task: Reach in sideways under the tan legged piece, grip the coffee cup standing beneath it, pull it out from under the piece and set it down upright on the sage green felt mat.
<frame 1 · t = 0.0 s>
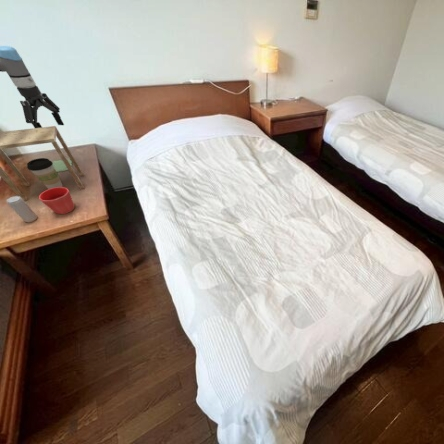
hand: (52, 129, 131), 24 cm above the table, tool pointing down, fingers open, 13 cm apart
tan legged piece: (55, 186, 134), on the table
coffee cup: (55, 187, 134), on the table
felt mat: (57, 166, 147), on the table
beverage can: (31, 219, 115), on the table
flower pot: (65, 209, 122), on the table
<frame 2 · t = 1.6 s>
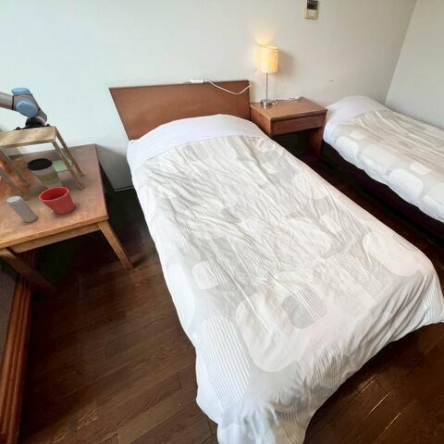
hand: (31, 139, 126), 22 cm above the table, tool horizontal, fingers open, 13 cm apart
nothing on the table moved.
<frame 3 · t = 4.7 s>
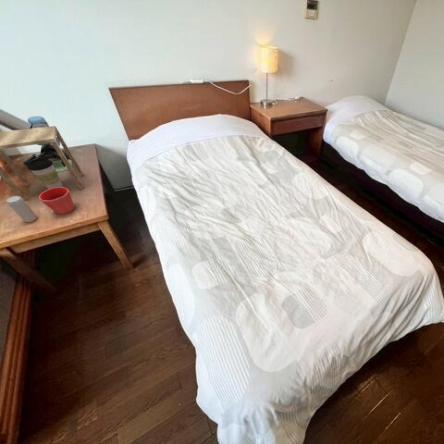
hand: (47, 167, 133), 8 cm above the table, tool horizontal, fingers open, 13 cm apart
nothing on the table moved.
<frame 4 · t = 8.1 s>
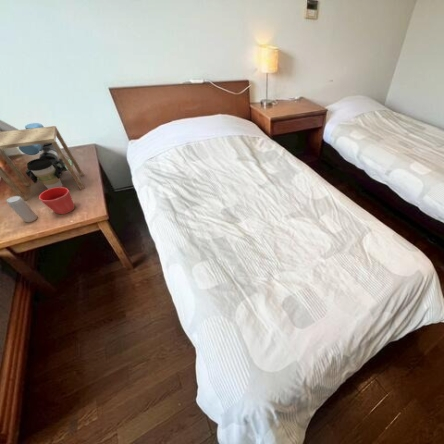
hand: (45, 178, 126), 8 cm above the table, tool horizontal, fingers closed on coffee cup, 9 cm apart
coffee cup: (55, 187, 134), on the table, touching gripper
everything else where it was.
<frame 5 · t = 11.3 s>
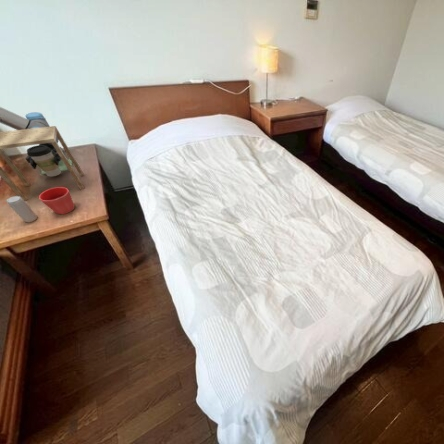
hand: (44, 164, 131), 10 cm above the table, tool horizontal, fingers closed on coffee cup, 9 cm apart
coffee cup: (54, 173, 139), point 2 cm above the table, touching gripper
everything else where it was.
when the fingers open (9 cm above the table, at t = 14.5 s): coffee cup stays where it is, resting on felt mat.
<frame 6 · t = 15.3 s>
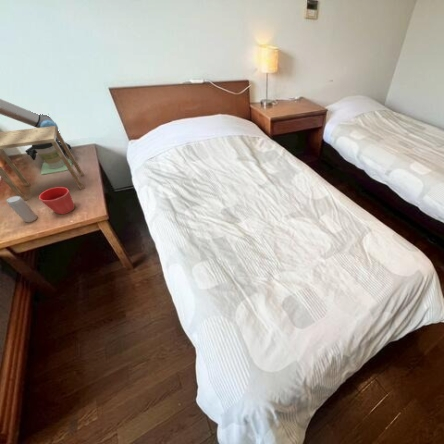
hand: (48, 155, 139), 9 cm above the table, tool horizontal, fingers open, 13 cm apart
coffee cup: (57, 166, 147), resting on felt mat
everything else where it was.
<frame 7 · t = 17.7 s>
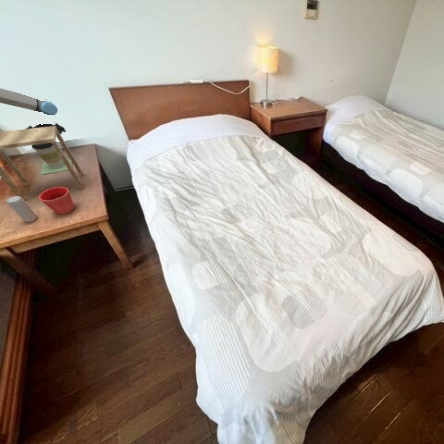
hand: (42, 137, 141), 16 cm above the table, tool horizontal, fingers open, 13 cm apart
nothing on the table moved.
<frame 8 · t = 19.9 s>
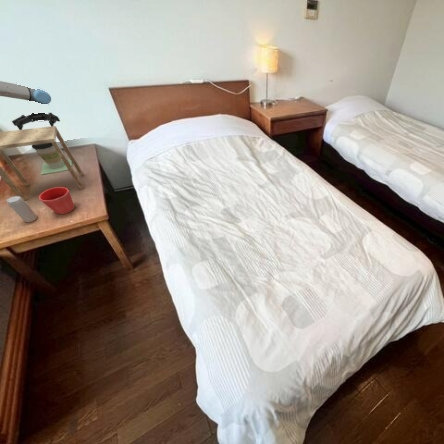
hand: (35, 126, 136), 22 cm above the table, tool horizontal, fingers open, 13 cm apart
nothing on the table moved.
at the end: coffee cup inside the target area on the felt mat (0.0 cm from its centre), point 0.4 cm above the felt mat's base; coffee cup tilted 0°; the gripper is holding nothing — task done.
